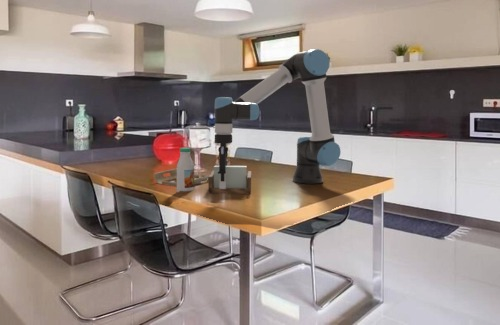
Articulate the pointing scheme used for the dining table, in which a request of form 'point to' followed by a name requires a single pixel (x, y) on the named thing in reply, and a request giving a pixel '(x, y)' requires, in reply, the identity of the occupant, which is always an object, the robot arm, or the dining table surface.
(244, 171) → the sheet
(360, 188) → the dining table surface
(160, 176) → the toy food set
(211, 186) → the rack
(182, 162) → the milk bottle
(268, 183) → the dining table surface
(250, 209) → the dining table surface
